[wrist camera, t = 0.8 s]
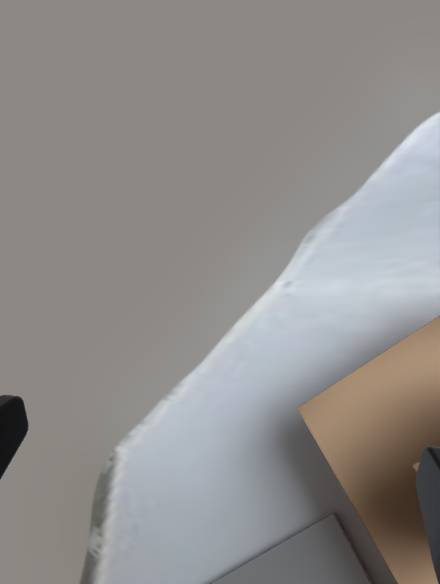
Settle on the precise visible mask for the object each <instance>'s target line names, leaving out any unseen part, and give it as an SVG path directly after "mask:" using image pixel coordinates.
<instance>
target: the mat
mask: <svg viewBox="0 0 440 584" xmlns="http://www.w3.org/2000/svg"><path fill="white" fill-rule="evenodd" d="M211 584H373V583H372V582H371V580H370V578H369V576H368V574H367V572H366V571H365V569H364V567H363V565H362V563H361V561H360V559H359V558H358V556H357V554H356V552H355V550H354V548H353V546H352V545H351V543H350V541H349V539H348V537H347V535H346V534H345V532H344V530H343V528H342V526H341V524H340V522H339V521H338V519H337V517H336V515H335V513H333V514H331V515H329V516H328V517H326V518H324V519H322V520H321V521H319V522H317V523H315V524H314V525H312V526H310V527H308V528H307V529H305V530H303V531H302V532H300V533H298V534H296V535H295V536H293V537H291V538H289V539H288V540H286V541H284V542H282V543H281V544H279V545H277V546H275V547H274V548H272V549H270V550H269V551H267V552H265V553H263V554H262V555H260V556H258V557H256V558H255V559H253V560H251V561H249V562H248V563H246V564H244V565H242V566H241V567H239V568H237V569H236V570H234V571H232V572H230V573H229V574H227V575H225V576H223V577H222V578H220V579H218V580H216V581H215V582H213V583H211Z"/></svg>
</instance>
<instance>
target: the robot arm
mask: <svg viewBox="0 0 440 584" xmlns="http://www.w3.org/2000/svg"><path fill="white" fill-rule="evenodd" d="M27 431H28V420H27V416H26V411H25V406H24V402H23V400H22V398H21V397H19V396H12V395H2V396H0V479H1V477H2V476H3V474H4V472H5V470H6V469H7V467H8V465H9V464H10V462H11V460H12V458H13V457H14V455H15V453H16V451H17V450H18V448H19V446H20V444H21V443H22V441H23V439H24V438H25V436H26V434H27ZM416 488H417V493H418V498H419V502H420V507H421V512H422V516H423V521H424V526H425V530H426V535H427V540H428V544H429V549H430V554H431V558H432V562H433V566H434V570H435V574H436V577H437V580H438V584H440V447H436V446H426V447H424V449H423V451H422V455H421V459H420V463H419V467H418V471H417V475H416Z"/></svg>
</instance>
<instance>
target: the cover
mask: <svg viewBox="0 0 440 584" xmlns="http://www.w3.org/2000/svg"><path fill="white" fill-rule="evenodd" d="M297 409H298V411H299V413H300V414H301V416H302V418H303V420H304V421H305V423H306V425H307V427H308V428H309V430H310V432H311V434H312V435H313V437H314V439H315V440H316V442H317V444H318V446H319V447H320V449H321V451H322V453H323V454H324V456H325V458H326V460H327V461H328V463H329V465H330V467H331V468H332V470H333V472H334V473H335V475H336V477H337V479H338V480H339V482H340V484H341V486H342V487H343V489H344V491H345V493H346V494H347V496H348V498H349V500H350V501H351V503H352V505H353V506H354V508H355V510H356V512H357V513H358V515H359V517H360V519H361V520H362V522H363V524H364V526H365V527H366V529H367V531H368V533H369V534H370V536H371V538H372V540H373V541H374V543H375V545H376V546H377V548H378V550H379V552H380V553H381V555H382V557H383V559H384V560H385V562H386V564H387V566H388V567H389V569H390V571H391V573H392V574H393V576H394V578H395V579H396V581H397V583H398V584H438V580H437V577H436V574H435V570H434V566H433V562H432V558H431V554H430V549H429V544H428V540H427V535H426V530H425V526H424V521H423V516H422V512H421V507H420V502H419V498H418V493H417V488H416V475H417V471H418V467H419V463H420V459H421V455H422V451H423V449H424V447H426V446H436V447H440V316H439V317H437V318H436V319H434V320H433V321H431V322H430V323H428V324H427V325H425V326H424V327H422V328H420V329H419V330H417V331H416V332H414V333H413V334H411V335H410V336H408V337H407V338H405V339H403V340H402V341H400V342H399V343H397V344H396V345H394V346H393V347H391V348H390V349H388V350H386V351H385V352H383V353H382V354H380V355H379V356H377V357H376V358H374V359H373V360H371V361H370V362H368V363H366V364H365V365H363V366H362V367H360V368H359V369H357V370H356V371H354V372H353V373H351V374H349V375H348V376H346V377H345V378H343V379H342V380H340V381H339V382H337V383H336V384H334V385H332V386H331V387H329V388H328V389H326V390H325V391H323V392H322V393H320V394H319V395H317V396H315V397H314V398H312V399H311V400H309V401H308V402H306V403H305V404H303V405H302V406H300V407H298V408H297Z"/></svg>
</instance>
